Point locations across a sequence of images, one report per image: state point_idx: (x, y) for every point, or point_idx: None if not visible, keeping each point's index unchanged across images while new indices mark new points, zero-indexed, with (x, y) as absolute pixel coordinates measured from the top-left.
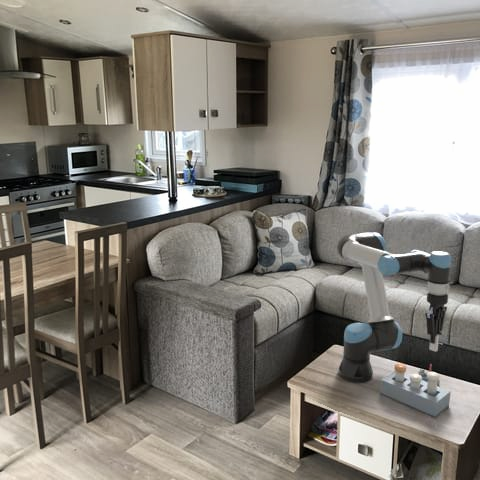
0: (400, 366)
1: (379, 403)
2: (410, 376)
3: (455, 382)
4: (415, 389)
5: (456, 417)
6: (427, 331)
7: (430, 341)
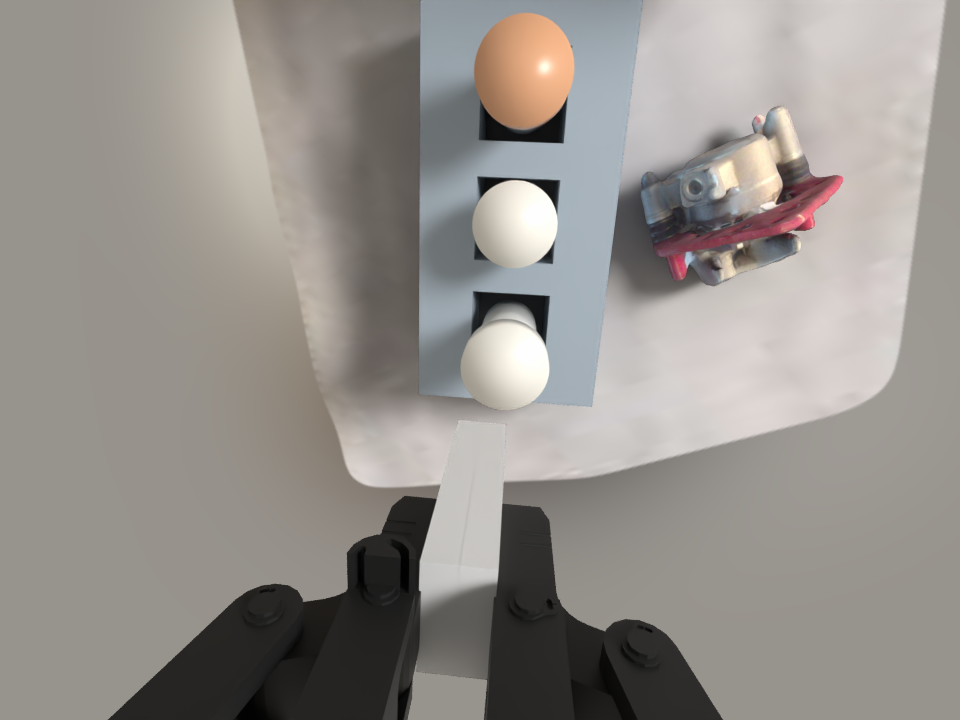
0: (518, 73)
1: (356, 79)
2: (487, 194)
3: (872, 307)
4: (468, 246)
5: (515, 426)
6: (193, 646)
7: (391, 514)
